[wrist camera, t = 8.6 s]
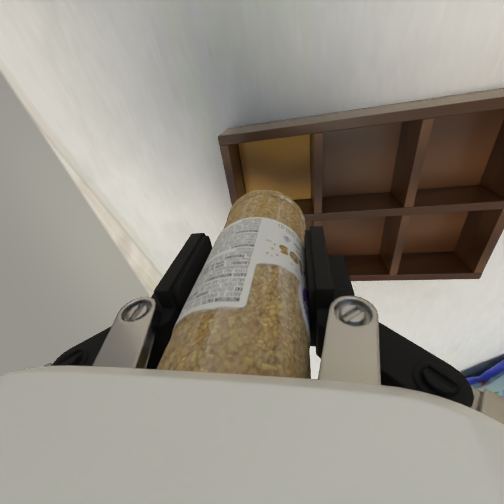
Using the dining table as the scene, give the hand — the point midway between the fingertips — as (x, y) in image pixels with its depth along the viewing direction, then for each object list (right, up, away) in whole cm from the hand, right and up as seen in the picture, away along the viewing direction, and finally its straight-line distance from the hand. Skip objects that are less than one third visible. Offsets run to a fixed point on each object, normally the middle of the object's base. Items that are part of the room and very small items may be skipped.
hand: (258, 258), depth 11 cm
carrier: (+9, +6, +13) cm, 17 cm away
